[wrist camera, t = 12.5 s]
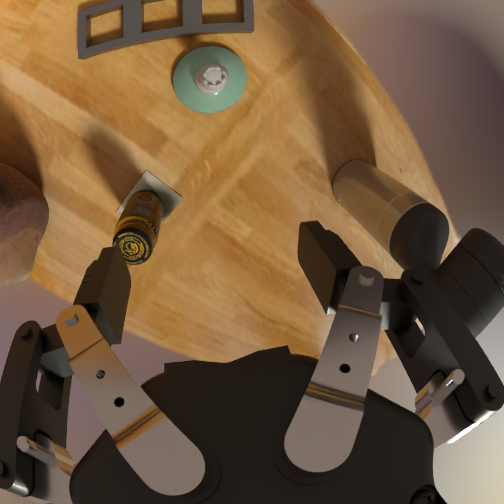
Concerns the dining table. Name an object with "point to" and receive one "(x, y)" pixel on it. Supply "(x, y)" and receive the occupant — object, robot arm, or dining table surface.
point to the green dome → (203, 101)
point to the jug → (19, 224)
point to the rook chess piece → (211, 78)
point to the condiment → (143, 218)
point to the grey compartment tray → (134, 30)
